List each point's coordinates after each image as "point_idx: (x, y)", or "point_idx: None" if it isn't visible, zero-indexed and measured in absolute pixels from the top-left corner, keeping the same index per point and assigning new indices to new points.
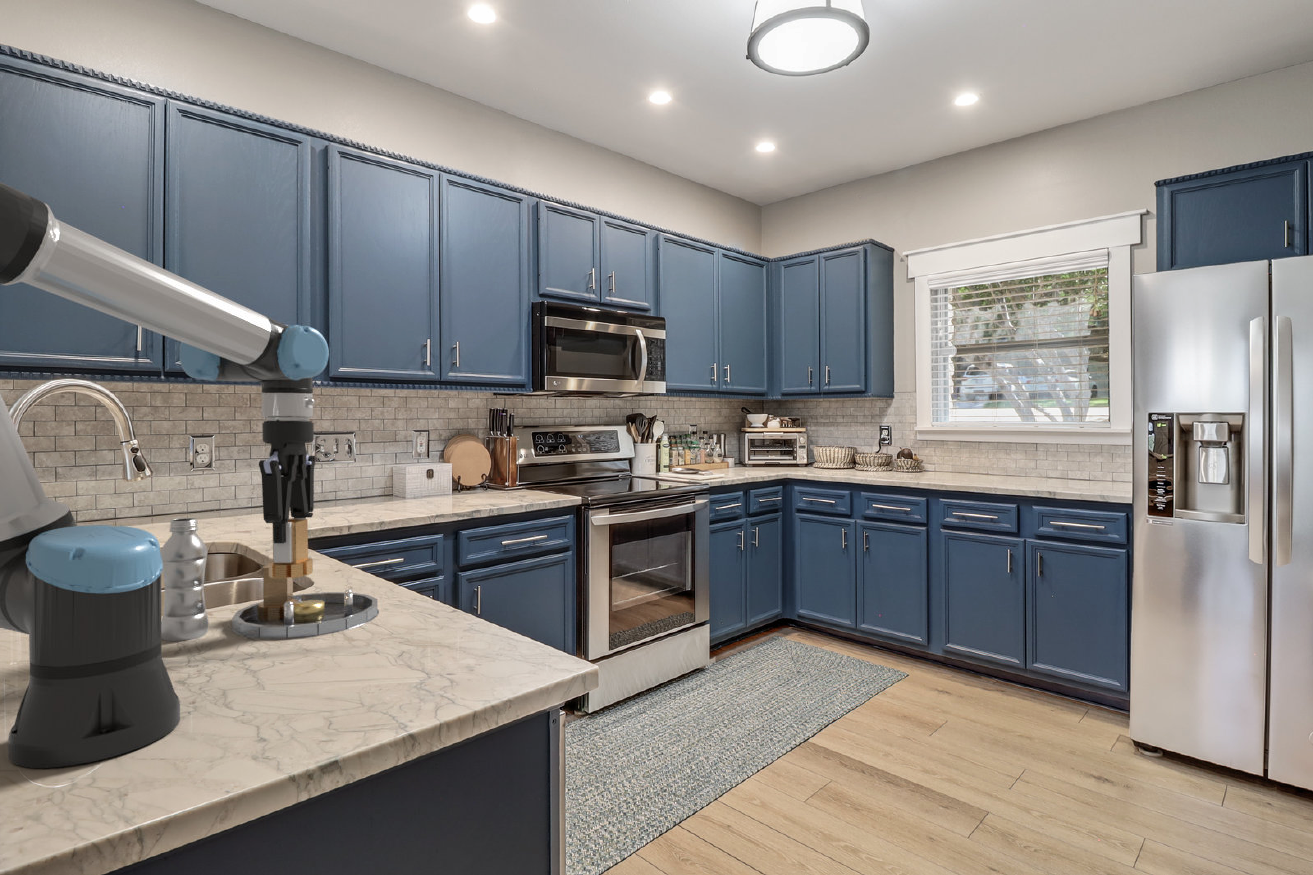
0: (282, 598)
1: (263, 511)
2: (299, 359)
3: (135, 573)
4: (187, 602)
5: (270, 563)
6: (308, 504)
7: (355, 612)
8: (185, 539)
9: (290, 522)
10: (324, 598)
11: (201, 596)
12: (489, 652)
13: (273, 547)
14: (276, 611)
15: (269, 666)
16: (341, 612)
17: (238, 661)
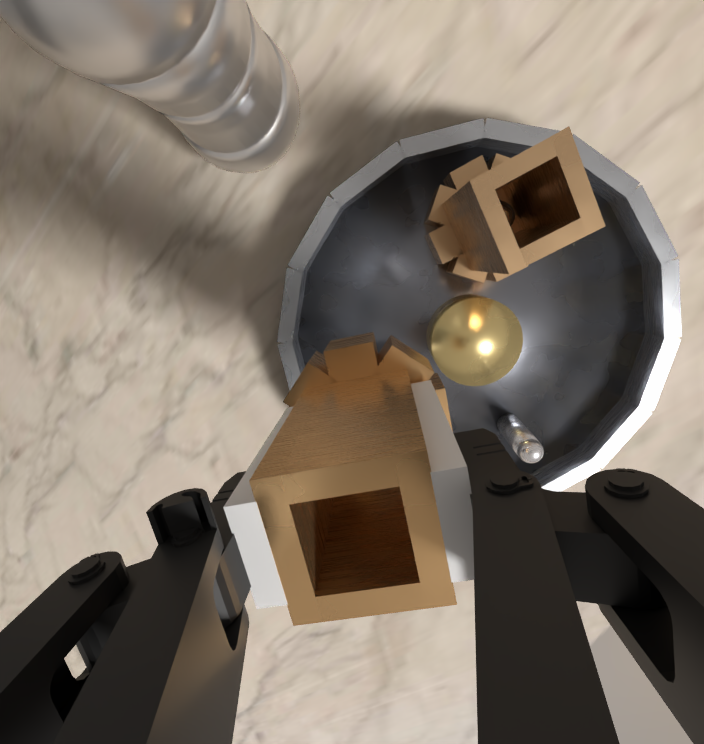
0: (470, 257)
1: (17, 619)
2: None
3: None
4: (174, 124)
5: (304, 374)
6: (626, 634)
7: (541, 422)
8: None
9: (282, 598)
10: (648, 261)
11: (222, 129)
12: None
13: (270, 434)
14: (437, 256)
15: (189, 452)
16: (535, 386)
17: (190, 371)
